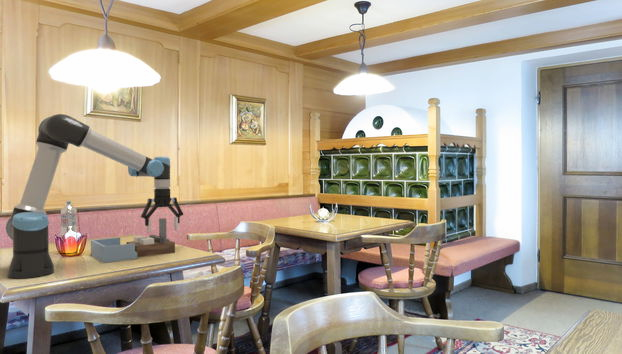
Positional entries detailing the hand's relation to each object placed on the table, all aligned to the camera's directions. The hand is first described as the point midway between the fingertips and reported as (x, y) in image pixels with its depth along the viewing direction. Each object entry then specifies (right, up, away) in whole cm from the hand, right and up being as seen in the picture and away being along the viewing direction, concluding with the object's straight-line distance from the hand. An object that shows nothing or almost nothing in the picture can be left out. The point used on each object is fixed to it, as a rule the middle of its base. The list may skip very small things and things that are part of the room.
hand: (162, 231), depth 219 cm
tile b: (-10, -5, -3) cm, 11 cm away
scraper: (-1, -5, -1) cm, 5 cm away
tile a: (-5, -5, -9) cm, 11 cm away
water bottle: (-44, -10, -4) cm, 45 cm away
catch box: (-18, -10, -14) cm, 25 cm away
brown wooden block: (-5, -10, -4) cm, 11 cm away
